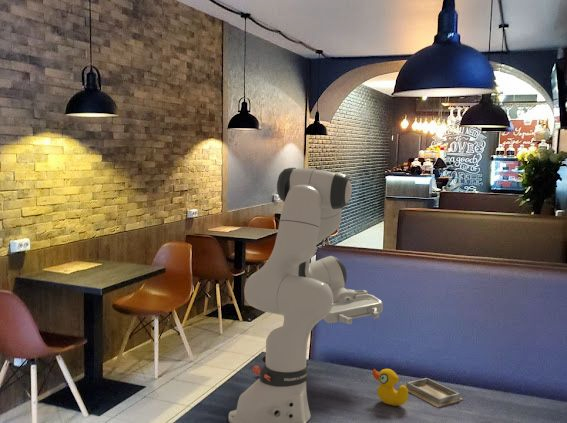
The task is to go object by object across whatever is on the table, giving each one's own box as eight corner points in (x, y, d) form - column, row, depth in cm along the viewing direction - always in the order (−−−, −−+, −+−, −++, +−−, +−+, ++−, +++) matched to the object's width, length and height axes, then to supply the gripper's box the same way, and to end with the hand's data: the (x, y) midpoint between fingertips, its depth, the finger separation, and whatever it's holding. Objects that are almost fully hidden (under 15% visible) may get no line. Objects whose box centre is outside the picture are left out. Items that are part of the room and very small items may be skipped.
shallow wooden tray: (437, 407, 161) (437, 400, 160) (403, 388, 173) (403, 382, 173) (463, 400, 166) (463, 393, 166) (427, 382, 178) (428, 376, 178)
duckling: (367, 400, 164) (368, 367, 163) (376, 395, 168) (377, 362, 167) (402, 412, 157) (404, 377, 156) (411, 406, 161) (412, 372, 160)
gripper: (314, 299, 181) (333, 315, 168) (369, 289, 188) (392, 303, 176) (314, 317, 183) (333, 335, 170) (369, 306, 190) (391, 322, 177)
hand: (363, 319), depth 173 cm, fingers open, 8 cm apart
